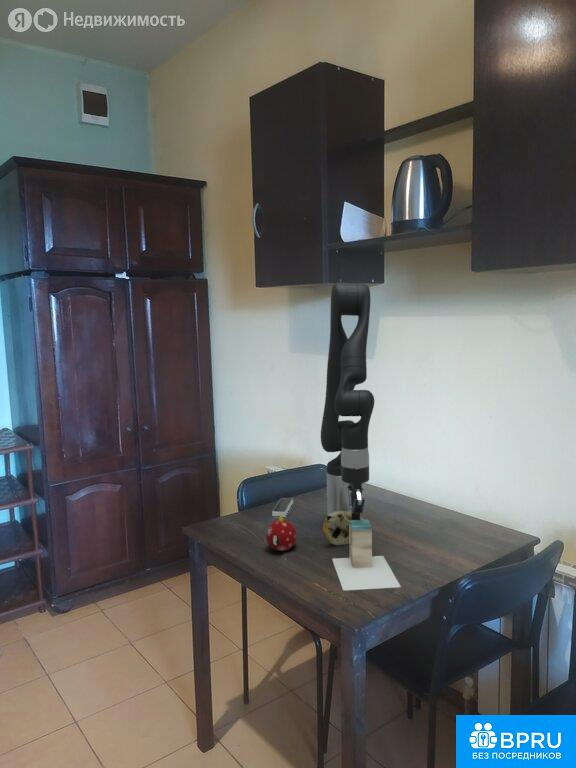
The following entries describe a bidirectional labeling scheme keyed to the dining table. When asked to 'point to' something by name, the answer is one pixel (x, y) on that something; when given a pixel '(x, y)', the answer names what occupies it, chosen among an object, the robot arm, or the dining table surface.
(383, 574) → the mat
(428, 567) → the dining table surface
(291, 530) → the christmas ornament
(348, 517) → the skull
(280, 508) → the multiport hub
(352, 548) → the tall block
